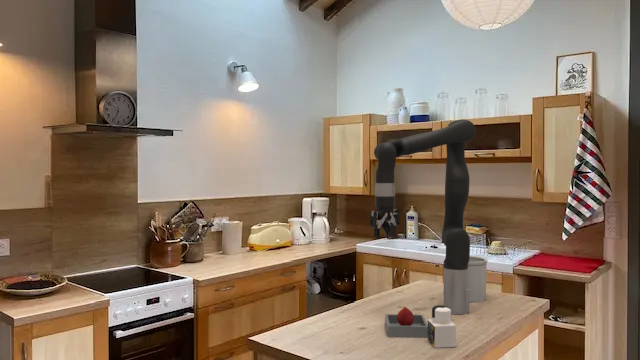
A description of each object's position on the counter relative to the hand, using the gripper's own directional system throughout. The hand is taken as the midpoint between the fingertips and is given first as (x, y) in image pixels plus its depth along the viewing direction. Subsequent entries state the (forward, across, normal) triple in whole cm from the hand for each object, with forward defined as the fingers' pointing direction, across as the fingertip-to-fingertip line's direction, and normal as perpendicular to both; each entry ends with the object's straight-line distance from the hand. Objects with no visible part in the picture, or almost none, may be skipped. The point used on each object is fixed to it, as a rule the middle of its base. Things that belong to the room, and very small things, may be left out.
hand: (385, 237), depth 190 cm
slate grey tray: (+30, -8, -17) cm, 36 cm away
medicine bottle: (+30, -9, -33) cm, 46 cm away
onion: (+30, -8, -17) cm, 35 cm away
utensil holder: (+30, +46, -7) cm, 55 cm away
